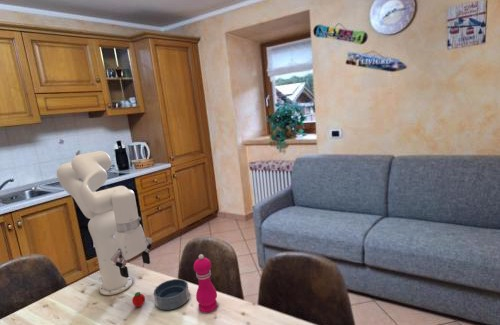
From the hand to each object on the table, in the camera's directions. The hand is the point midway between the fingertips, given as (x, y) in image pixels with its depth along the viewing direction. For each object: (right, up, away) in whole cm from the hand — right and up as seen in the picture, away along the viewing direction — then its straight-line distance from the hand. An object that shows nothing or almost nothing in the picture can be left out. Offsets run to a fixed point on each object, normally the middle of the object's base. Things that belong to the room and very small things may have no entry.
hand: (136, 269), depth 113 cm
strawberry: (0, -14, +3) cm, 15 cm away
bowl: (+12, -13, +4) cm, 18 cm away
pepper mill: (+26, -13, -2) cm, 29 cm away
